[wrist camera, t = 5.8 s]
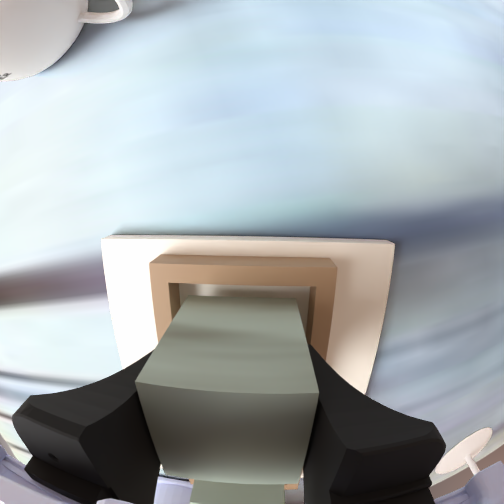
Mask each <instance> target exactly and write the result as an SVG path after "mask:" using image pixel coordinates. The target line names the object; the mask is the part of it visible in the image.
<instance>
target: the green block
mask: <svg viewBox="0 0 504 504" xmlns="http://www.w3.org/2000/svg"><path fill="white" fill-rule="evenodd" d="M135 384H136V388H137V391H138V395H139V399H140V402H141V406H142V409H143V412H144V416H145V419H146V422H147V425H148V428H149V431H150V434H151V437H152V440H153V443H154V446H155V449H156V452H157V454H158V457H159V460H160V462H161V465H162V468H163V470H164V473H165V475H171V476H176V477H182V478H189V479H196V480H204V481H213V482H224V483H238V484H298V483H299V479H300V475H301V472H302V468H303V464H304V460H305V456H306V452H307V448H308V444H309V439H310V435H311V430H312V426H313V421H314V416H315V412H316V407H317V402H318V396H319V390H318V385H317V381H316V377H315V373H314V369H313V365H312V361H311V357H310V353H309V349H308V345H307V341H306V337H305V333H304V329H303V325H302V321H301V317H300V313H299V310H298V306H297V302H296V298H261V297H224V296H199V295H188V297H187V298H186V300H185V301H184V303H183V304H182V306H181V308H180V309H179V311H178V312H177V314H176V315H175V317H174V319H173V320H172V322H171V323H170V325H169V327H168V328H167V330H166V331H165V333H164V335H163V336H162V338H161V339H160V341H159V343H158V344H157V346H156V348H155V349H154V351H153V352H152V354H151V356H150V357H149V359H148V361H147V362H146V364H145V366H144V367H143V369H142V370H141V372H140V374H139V375H138V377H137V379H136V380H135Z"/></svg>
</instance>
